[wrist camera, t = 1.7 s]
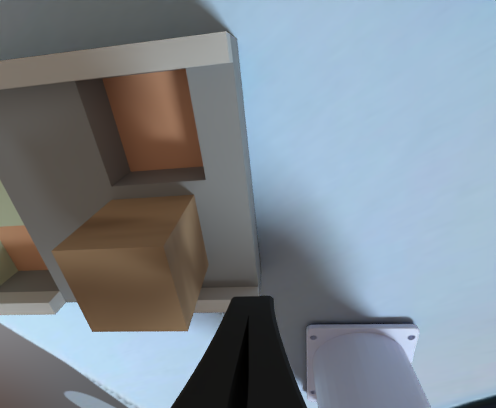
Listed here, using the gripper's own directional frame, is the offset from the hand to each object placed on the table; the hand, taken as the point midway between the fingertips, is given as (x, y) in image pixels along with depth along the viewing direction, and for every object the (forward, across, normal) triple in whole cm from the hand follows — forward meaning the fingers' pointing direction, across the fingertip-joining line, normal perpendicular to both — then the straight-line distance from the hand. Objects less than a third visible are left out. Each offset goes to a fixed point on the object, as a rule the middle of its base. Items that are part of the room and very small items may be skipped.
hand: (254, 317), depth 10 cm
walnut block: (+6, +6, 0) cm, 8 cm away
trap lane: (+8, +10, -2) cm, 14 cm away
